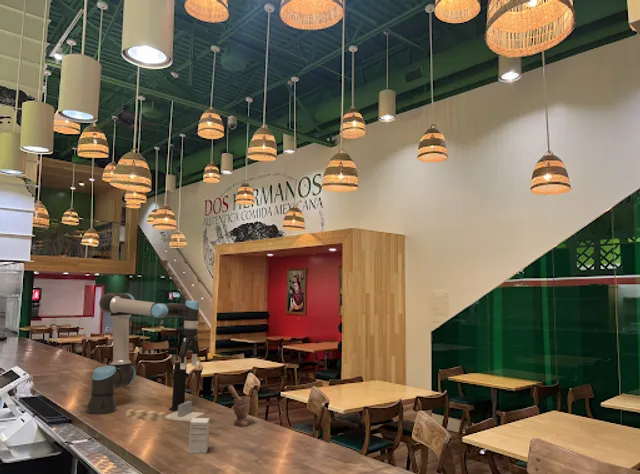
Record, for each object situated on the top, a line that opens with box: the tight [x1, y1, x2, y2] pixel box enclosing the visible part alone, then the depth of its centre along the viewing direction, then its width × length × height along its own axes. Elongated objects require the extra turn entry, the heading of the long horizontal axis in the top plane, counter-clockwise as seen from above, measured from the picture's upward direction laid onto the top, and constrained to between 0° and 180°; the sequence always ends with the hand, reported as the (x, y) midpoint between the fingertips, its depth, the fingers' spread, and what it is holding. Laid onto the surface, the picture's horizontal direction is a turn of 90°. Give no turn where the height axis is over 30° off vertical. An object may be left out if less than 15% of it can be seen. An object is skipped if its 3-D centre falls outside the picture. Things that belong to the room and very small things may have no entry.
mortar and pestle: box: [227, 384, 252, 427], centre depth 252 cm, size 12×9×20 cm
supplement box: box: [188, 417, 210, 455], centre depth 209 cm, size 7×7×13 cm
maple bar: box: [125, 409, 166, 422], centre depth 258 cm, size 20×4×4 cm, turn 77°
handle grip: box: [168, 361, 188, 412], centre depth 283 cm, size 10×26×10 cm
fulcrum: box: [165, 400, 205, 422], centre depth 264 cm, size 16×14×7 cm
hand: (188, 367), depth 274 cm, fingers open, 13 cm apart
